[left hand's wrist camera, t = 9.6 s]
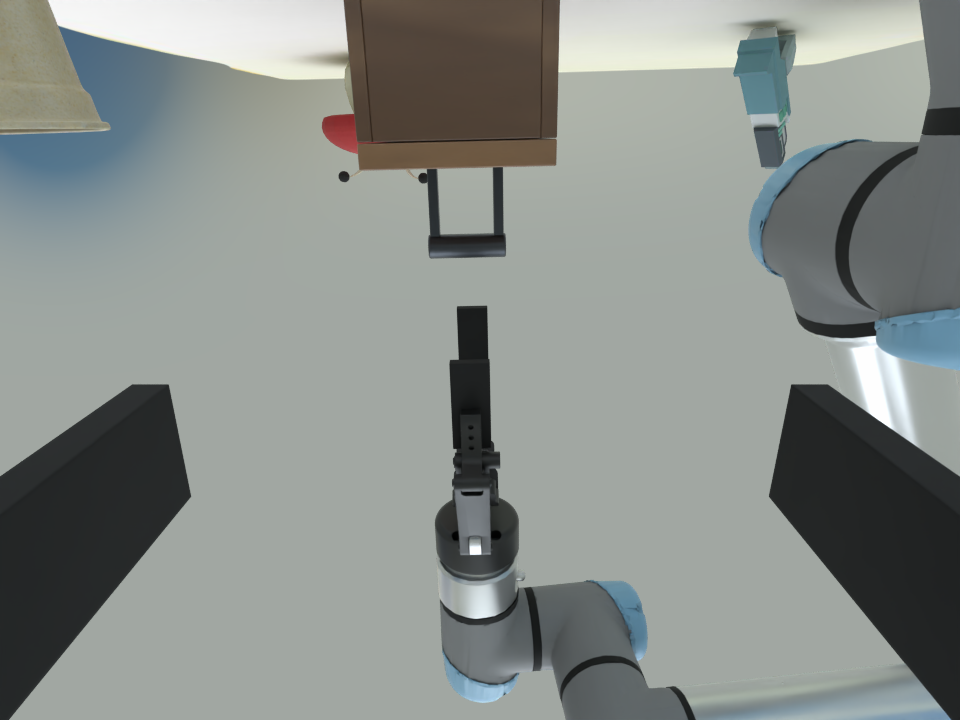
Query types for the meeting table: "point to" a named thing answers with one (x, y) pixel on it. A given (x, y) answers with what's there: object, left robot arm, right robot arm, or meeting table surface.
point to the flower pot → (39, 75)
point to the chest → (453, 69)
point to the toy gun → (767, 89)
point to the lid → (460, 156)
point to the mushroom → (349, 131)
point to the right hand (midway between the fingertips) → (471, 329)
